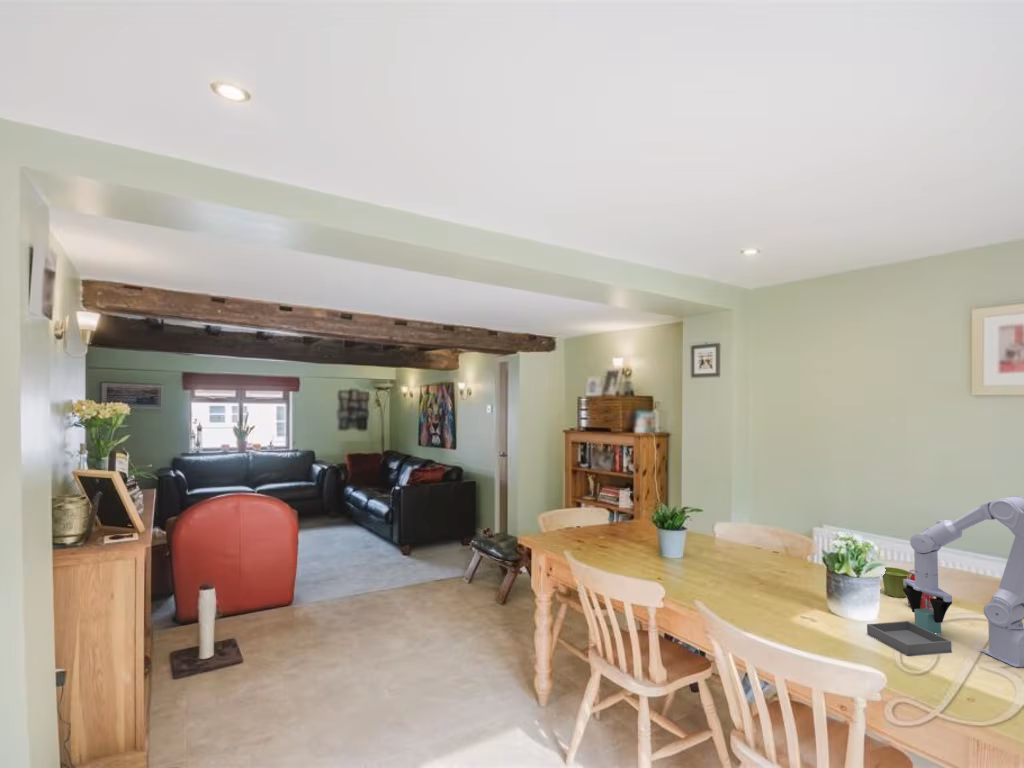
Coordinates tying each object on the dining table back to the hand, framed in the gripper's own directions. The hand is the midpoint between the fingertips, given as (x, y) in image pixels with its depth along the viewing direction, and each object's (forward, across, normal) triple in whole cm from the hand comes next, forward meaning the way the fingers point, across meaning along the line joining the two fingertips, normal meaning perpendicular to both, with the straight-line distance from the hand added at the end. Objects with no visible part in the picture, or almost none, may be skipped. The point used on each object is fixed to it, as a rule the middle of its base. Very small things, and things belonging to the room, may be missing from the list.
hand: (927, 617), depth 165 cm
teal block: (+4, 0, 0) cm, 4 cm away
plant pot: (+4, -28, +16) cm, 32 cm away
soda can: (+4, -16, +14) cm, 22 cm away
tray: (+4, +6, -13) cm, 15 cm away
